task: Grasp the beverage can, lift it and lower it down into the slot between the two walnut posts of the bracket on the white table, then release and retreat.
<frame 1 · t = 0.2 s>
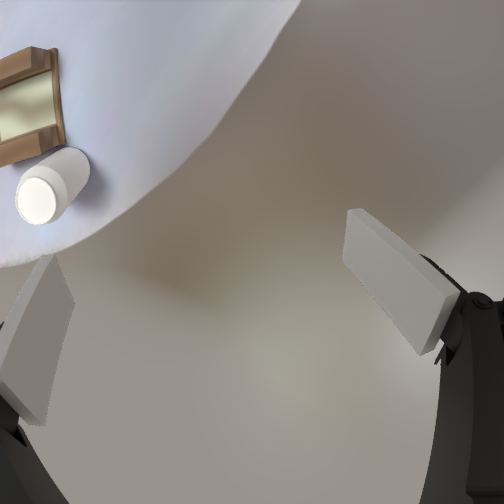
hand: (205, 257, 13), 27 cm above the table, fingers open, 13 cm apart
beverage can: (71, 168, 33), on the table
post bracket: (27, 105, 27), on the table
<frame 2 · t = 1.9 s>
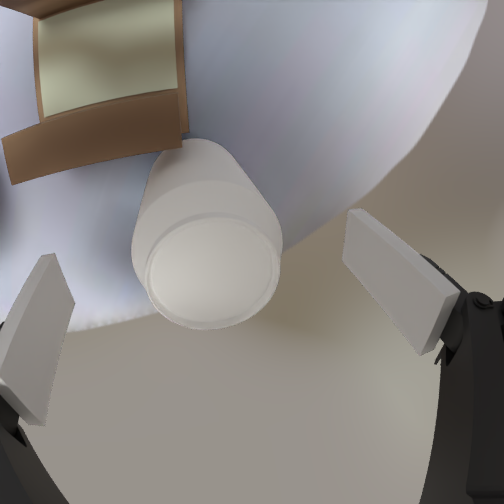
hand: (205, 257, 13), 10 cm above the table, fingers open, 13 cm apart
beverage can: (193, 178, 21), on the table
post bracket: (106, 50, 14), on the table
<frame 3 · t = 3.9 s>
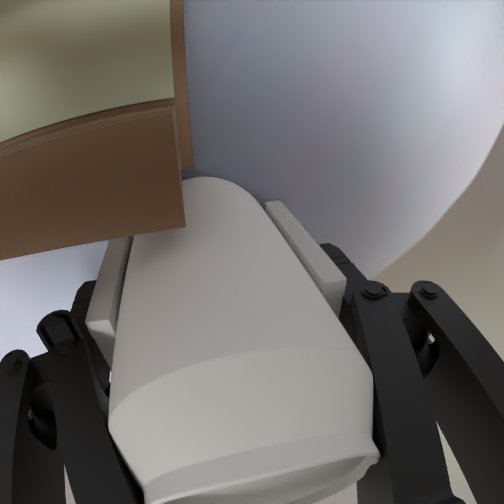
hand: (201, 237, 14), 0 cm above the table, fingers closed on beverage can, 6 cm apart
beverage can: (200, 231, 15), on the table, touching gripper
post bracket: (67, 43, 8), on the table
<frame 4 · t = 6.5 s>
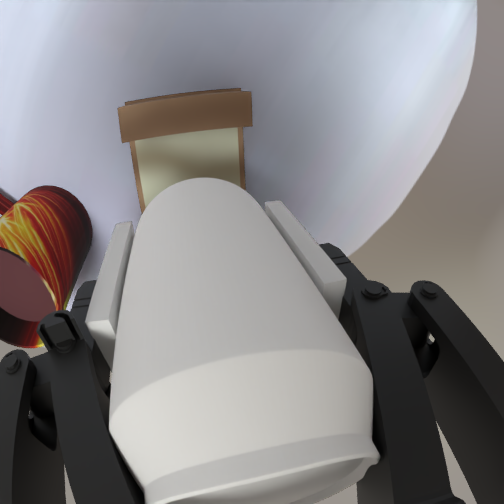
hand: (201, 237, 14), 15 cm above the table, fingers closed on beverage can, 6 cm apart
mug: (35, 225, 26), on the table
beverage can: (200, 232, 15), point 15 cm above the table, touching gripper
post bracket: (188, 161, 27), on the table
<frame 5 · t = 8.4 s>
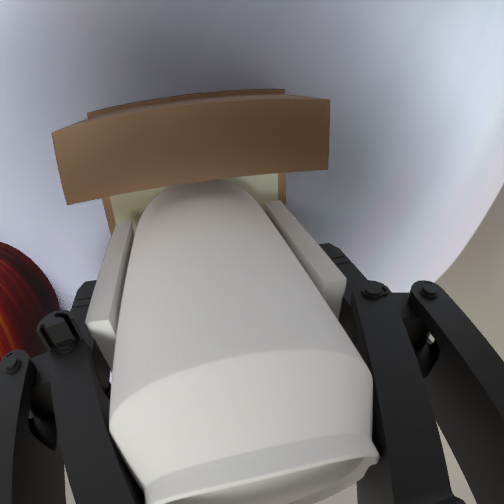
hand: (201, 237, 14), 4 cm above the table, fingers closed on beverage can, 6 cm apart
beverage can: (200, 232, 15), point 3 cm above the table, touching gripper
post bracket: (196, 208, 17), on the table
when the fingers open (3 cm above the table, at t = 9.2 s): beverage can drops 2 cm, resting on post bracket.
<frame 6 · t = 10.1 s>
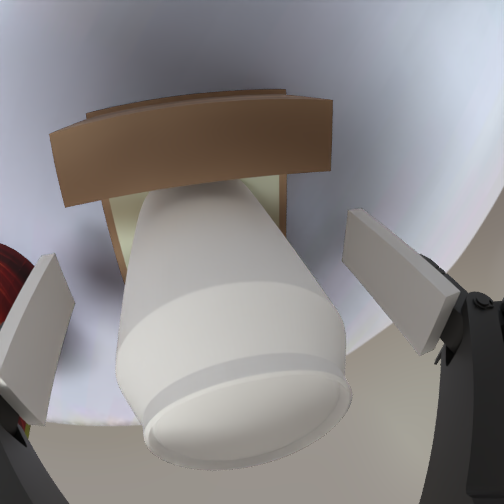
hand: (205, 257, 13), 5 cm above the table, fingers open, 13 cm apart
beverage can: (197, 216, 16), point 1 cm above the table, touching post bracket
post bracket: (196, 209, 17), on the table
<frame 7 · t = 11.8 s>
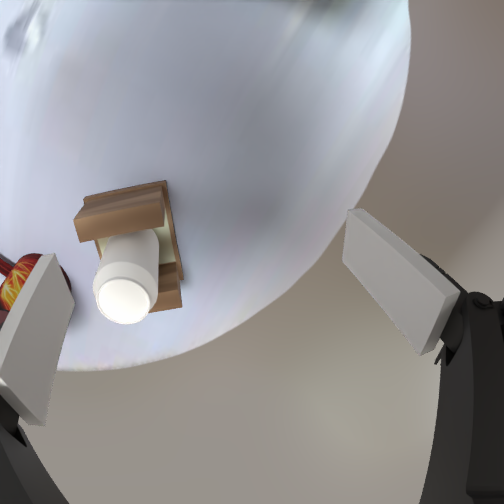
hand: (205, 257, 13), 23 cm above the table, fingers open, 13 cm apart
mug: (29, 280, 34), on the table
beverage can: (134, 241, 35), point 1 cm above the table, touching post bracket
post bracket: (135, 238, 36), on the table
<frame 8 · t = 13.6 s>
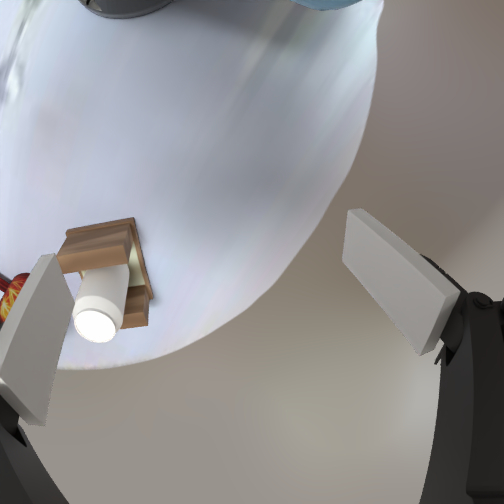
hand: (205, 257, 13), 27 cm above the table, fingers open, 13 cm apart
mug: (24, 294, 39), on the table
beverage can: (109, 267, 40), point 1 cm above the table, touching post bracket
post bracket: (110, 264, 40), on the table
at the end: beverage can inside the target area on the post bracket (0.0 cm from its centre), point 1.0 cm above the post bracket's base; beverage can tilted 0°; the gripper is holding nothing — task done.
